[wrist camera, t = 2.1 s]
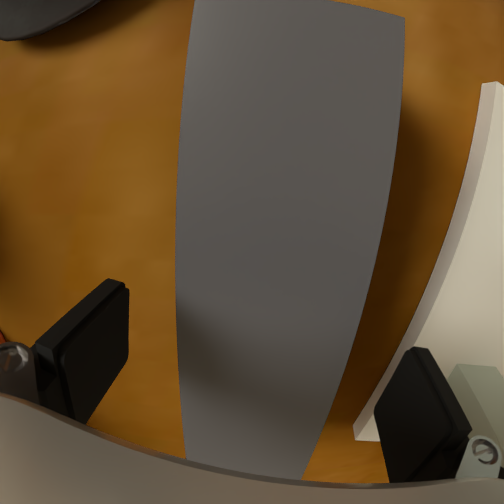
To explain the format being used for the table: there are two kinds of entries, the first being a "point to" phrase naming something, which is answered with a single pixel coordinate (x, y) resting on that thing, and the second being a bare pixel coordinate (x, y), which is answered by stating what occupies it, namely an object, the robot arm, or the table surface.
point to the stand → (466, 289)
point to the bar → (278, 218)
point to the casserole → (37, 16)
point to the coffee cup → (2, 338)
